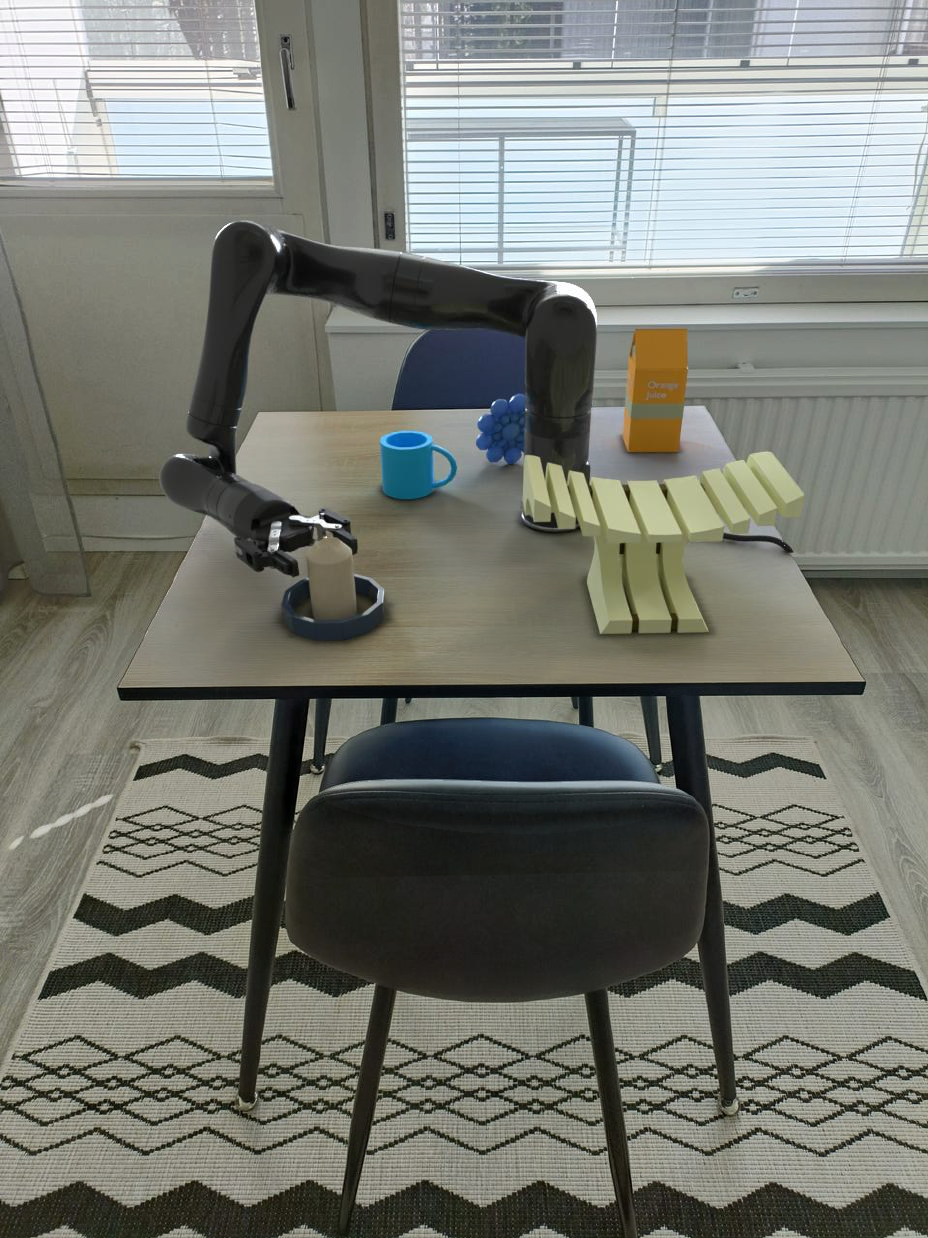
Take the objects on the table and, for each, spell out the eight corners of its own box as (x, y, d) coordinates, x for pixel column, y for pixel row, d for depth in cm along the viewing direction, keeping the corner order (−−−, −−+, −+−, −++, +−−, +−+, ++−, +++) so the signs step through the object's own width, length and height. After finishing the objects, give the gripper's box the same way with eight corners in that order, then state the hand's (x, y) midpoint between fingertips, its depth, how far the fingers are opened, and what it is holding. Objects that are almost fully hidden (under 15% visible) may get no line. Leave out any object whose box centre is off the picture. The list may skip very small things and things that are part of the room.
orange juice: (679, 452, 165) (692, 334, 155) (627, 452, 165) (637, 335, 155) (671, 435, 172) (683, 322, 161) (621, 435, 172) (630, 322, 161)
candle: (349, 627, 117) (343, 554, 112) (306, 622, 118) (298, 550, 113) (362, 604, 122) (357, 533, 117) (321, 600, 123) (313, 530, 118)
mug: (377, 497, 150) (374, 447, 146) (389, 477, 157) (387, 429, 153) (452, 502, 148) (451, 452, 144) (461, 481, 155) (461, 433, 151)
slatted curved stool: (743, 568, 129) (763, 442, 120) (778, 630, 116) (804, 494, 106) (521, 571, 129) (524, 445, 120) (530, 635, 115) (534, 498, 106)
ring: (386, 588, 125) (385, 571, 124) (381, 639, 115) (380, 621, 114) (291, 590, 125) (289, 573, 124) (278, 641, 115) (275, 623, 113)
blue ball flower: (543, 453, 165) (545, 385, 159) (546, 468, 159) (548, 398, 153) (475, 454, 165) (475, 385, 159) (476, 469, 159) (475, 399, 153)
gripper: (204, 505, 121) (272, 548, 111) (300, 475, 129) (371, 513, 119) (213, 558, 125) (279, 605, 115) (305, 526, 133) (375, 566, 123)
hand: (326, 558), depth 117 cm, fingers open, 8 cm apart
